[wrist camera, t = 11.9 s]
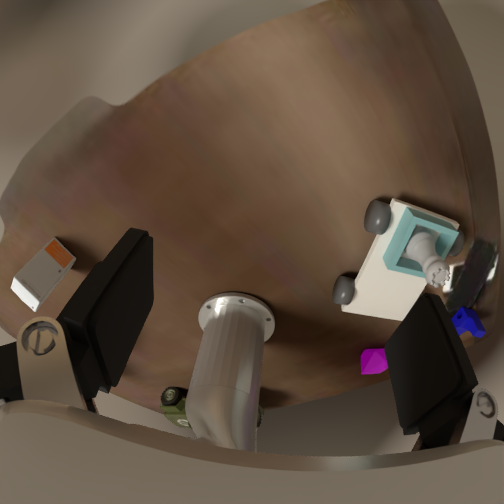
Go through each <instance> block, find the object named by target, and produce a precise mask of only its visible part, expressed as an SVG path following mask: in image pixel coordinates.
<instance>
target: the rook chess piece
mask: <svg viewBox="0 0 504 504" xmlns="http://www.w3.org/2000/svg"><path fill="white" fill-rule="evenodd" d="M404 251H405V253H406V254H407V256H408V257H409V258H410V259H412V260H414V261H416V262H419V264H420V265H421V266H422V267H423V272H424V274H425V280H426V282H427V283H428V284H430V285H432V286H433V285H434V287H435V288H438V287H439V284H441V285H442V286H444V285H445V282H444V281H445V280H447V281H449V279H450V277H449V274H450V272H449V269H450V267H449V265H448V263H446V262H444V261H443V260H442V257H440V256H438V255H437V253H436V250H435V239H434V237H433V235H432V234H431V232H430V230H428V229H427V228H424V227H418V228H414V230H413V232H412V234H411V236H410V238H409V240H408V242H407V244H406V246H405V248H404Z"/></svg>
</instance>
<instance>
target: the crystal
mask: <svg viewBox="0 0 504 504" xmlns="http://www.w3.org/2000/svg"><path fill="white" fill-rule="evenodd" d="M387 368H388V364H387V360H386V356H385V352H384V348H383V349H365V350H364V351H363V353H362V355H361V375H362V374H376V373H381V372H383V371H384V370H386V369H387Z"/></svg>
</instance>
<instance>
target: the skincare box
mask: <svg viewBox="0 0 504 504" xmlns="http://www.w3.org/2000/svg"><path fill="white" fill-rule="evenodd" d="M75 261H76V257H74V256H73V255H72V254H71V253H70V252H69V251H68V250H67V249H66V248H65V247H64V246H63V245H62V244H61V243H60V242H59V241H58V240H57V239H56V238H55V237H54V238H52V239H51V240H50V241H49V242H48V243H47V244H46V245H45V246H44V247H43V248H42V249H41V250H40V251H39V252H38V253H37V254H36V255H35V256H34V257H33V258H32V259H31V260H30V261H29V262H28V263H27V264H26V265H25V266H24V267H23V268H22V269H21V270H20V271H19V272H18V273H17V274H16V275H15V277H14V279H13V283H12V286H11V289H12V290H13V291H14V292H15V293H16V294H17V295H18V296H19V298H20V299H21V300H22V301H23V302H24V303H26V304H27V305H28V306H29V307H30V308H31V309H32V310H33V311H35V312H37V310H38V309H39V307H40V306H41V305H42V303H43V302H44V301H45V300H46V298H47V297H48V296H49V295H50V293H51V292H52V291H53V290H54V288H55V287H56V286H57V285H58V283H59V282H60V281H61V280H62V279H63V277H64V276H65V275H66V274H67V273H68V271H69V270H70V268H71V267H72V265H73V264H74V262H75Z"/></svg>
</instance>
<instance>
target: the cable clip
mask: <svg viewBox="0 0 504 504" xmlns="http://www.w3.org/2000/svg"><path fill="white" fill-rule="evenodd" d="M451 320H452V322H453V324H454V326H455V328H456V330H457V332H458V335H459V336H460V335H461V334H462V333H463V332H465V331H470V332H471V333H472V335H473V336H476V337H480V338H481V337H482V336H483V335H484V334H485V333H486V331H485V329H484V327H483V325H482V323H481V321H480V320H479V318H478V316H477V314H476V312H475V311H474V310H471V309H468V308H465V307H461V308H460V309H459V311H458V312H457V313H456V314H455V315H454V317H453V318H452V319H451Z"/></svg>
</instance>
